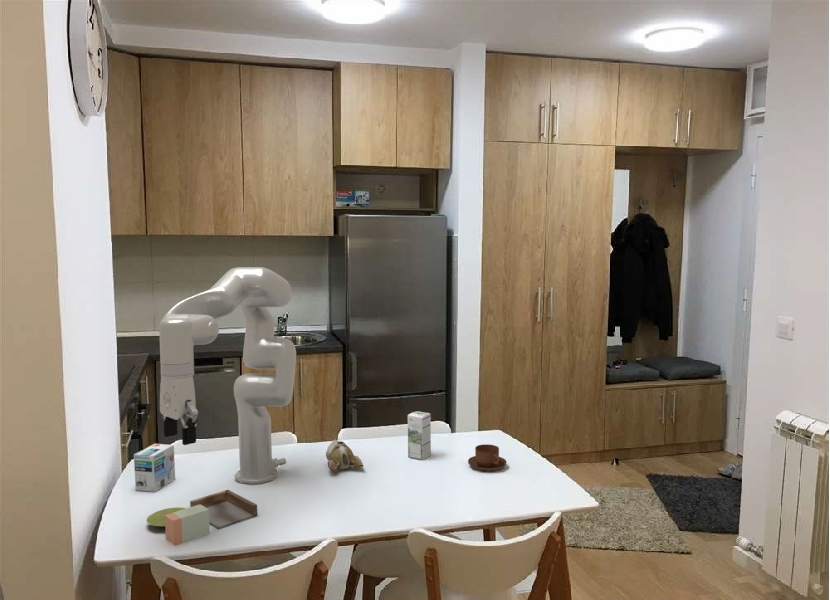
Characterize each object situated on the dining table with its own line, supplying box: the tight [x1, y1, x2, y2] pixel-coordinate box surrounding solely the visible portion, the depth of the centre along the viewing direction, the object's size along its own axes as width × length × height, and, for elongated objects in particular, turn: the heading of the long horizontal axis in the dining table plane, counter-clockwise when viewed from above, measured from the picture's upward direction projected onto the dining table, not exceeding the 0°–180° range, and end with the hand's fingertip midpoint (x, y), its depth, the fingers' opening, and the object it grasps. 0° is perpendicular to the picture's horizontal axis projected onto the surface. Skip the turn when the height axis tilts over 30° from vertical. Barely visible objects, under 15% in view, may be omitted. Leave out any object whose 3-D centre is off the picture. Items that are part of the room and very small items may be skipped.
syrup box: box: [407, 411, 432, 461], centre depth 215 cm, size 6×6×14 cm
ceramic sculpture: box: [325, 438, 364, 473], centre depth 206 cm, size 11×9×15 cm
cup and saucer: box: [467, 444, 507, 472], centre depth 205 cm, size 12×12×6 cm
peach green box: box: [164, 504, 211, 546], centre depth 159 cm, size 9×4×6 cm, turn 135°
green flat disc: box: [146, 506, 187, 527], centre depth 166 cm, size 11×11×2 cm
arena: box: [189, 489, 258, 530], centre depth 172 cm, size 11×15×3 cm
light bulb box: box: [133, 443, 176, 493], centre depth 192 cm, size 11×7×11 cm, turn 168°
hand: (179, 439), depth 158 cm, fingers open, 9 cm apart
